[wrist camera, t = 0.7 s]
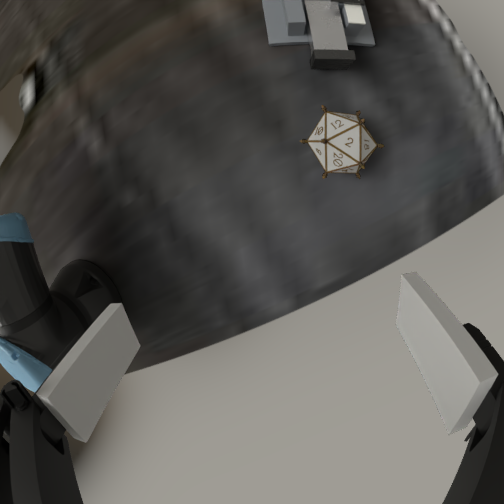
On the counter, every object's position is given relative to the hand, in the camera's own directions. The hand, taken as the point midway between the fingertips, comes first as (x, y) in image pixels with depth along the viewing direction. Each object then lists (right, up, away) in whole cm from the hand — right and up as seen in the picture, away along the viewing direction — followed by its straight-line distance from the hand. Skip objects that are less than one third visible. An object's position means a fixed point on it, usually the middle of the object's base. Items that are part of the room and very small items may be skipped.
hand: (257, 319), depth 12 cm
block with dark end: (+10, +30, +14) cm, 34 cm away
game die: (+10, +17, +21) cm, 29 cm away
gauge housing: (+8, +35, +13) cm, 39 cm away
